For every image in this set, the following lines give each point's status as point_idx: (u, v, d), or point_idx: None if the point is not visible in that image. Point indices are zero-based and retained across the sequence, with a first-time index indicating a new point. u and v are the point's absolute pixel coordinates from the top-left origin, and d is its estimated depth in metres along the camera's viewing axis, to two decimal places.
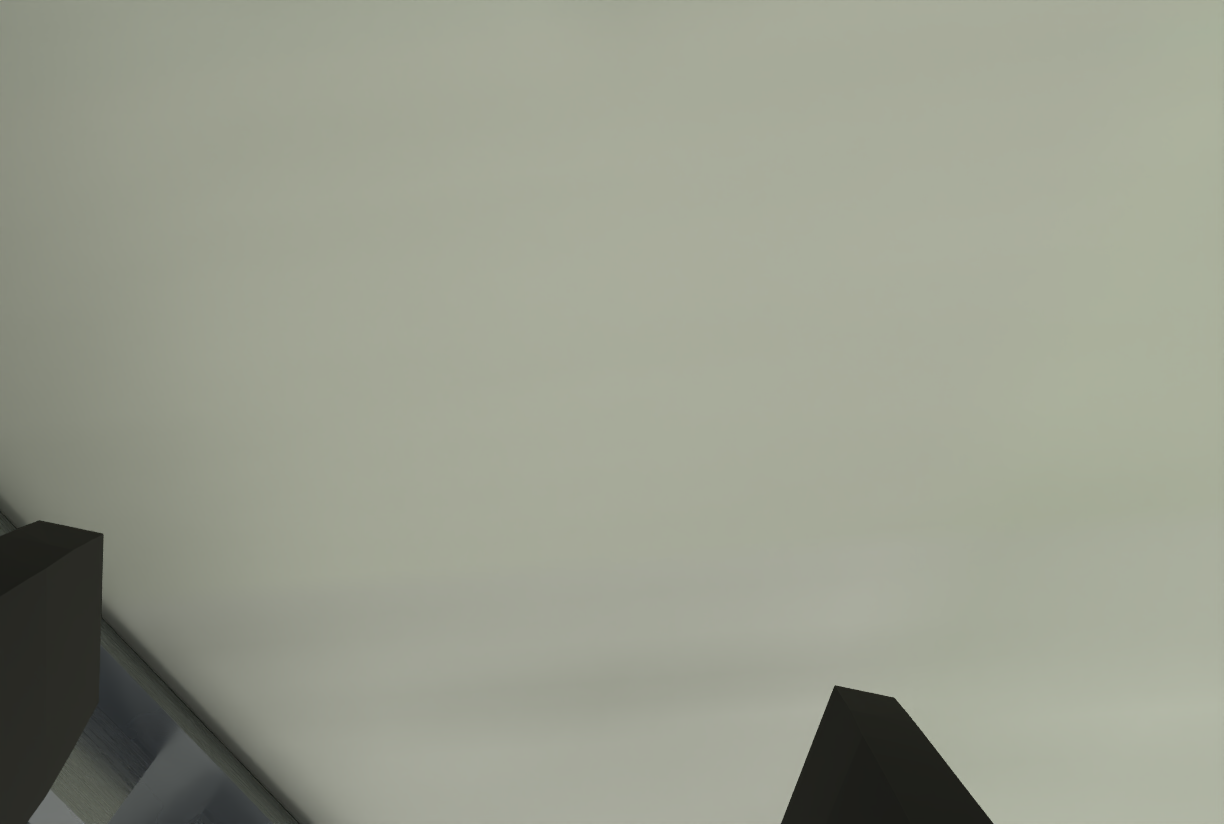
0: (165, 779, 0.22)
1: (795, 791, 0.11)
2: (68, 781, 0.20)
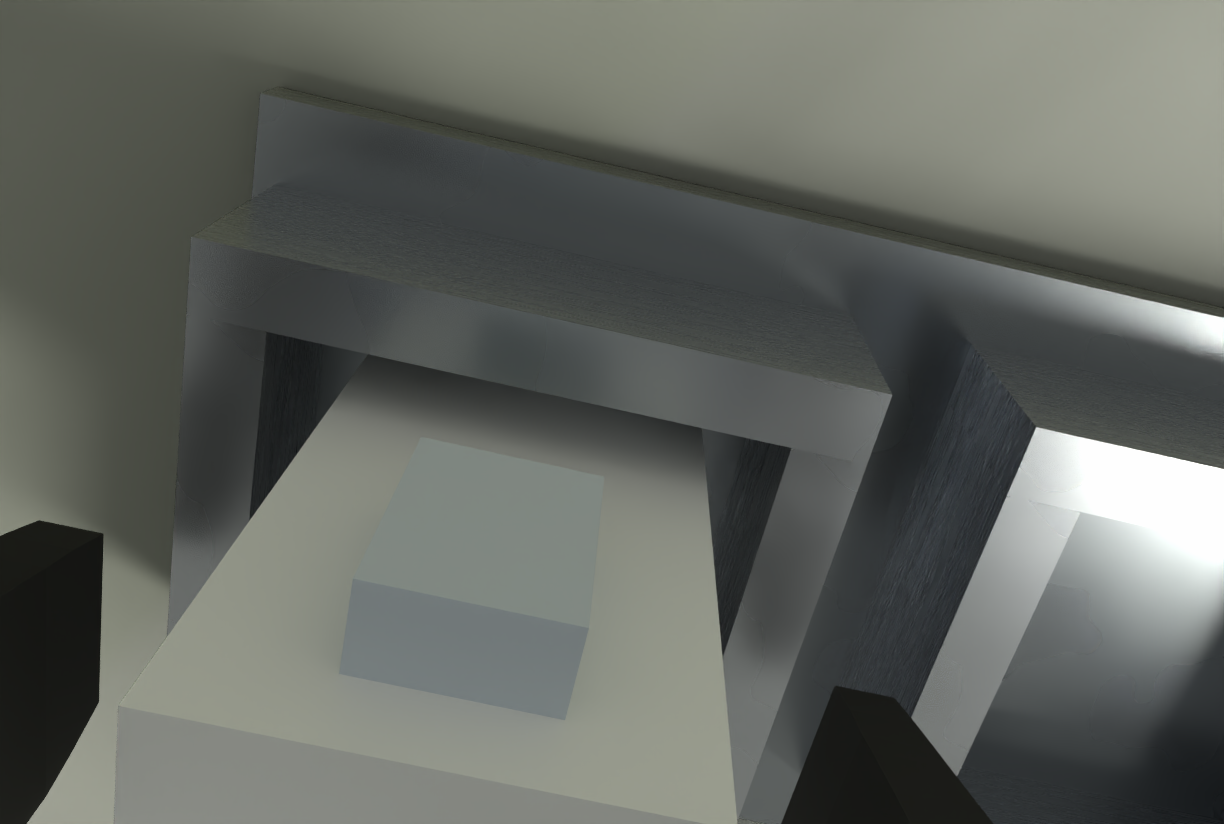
0: (885, 332, 0.13)
1: (794, 792, 0.11)
2: (782, 354, 0.11)
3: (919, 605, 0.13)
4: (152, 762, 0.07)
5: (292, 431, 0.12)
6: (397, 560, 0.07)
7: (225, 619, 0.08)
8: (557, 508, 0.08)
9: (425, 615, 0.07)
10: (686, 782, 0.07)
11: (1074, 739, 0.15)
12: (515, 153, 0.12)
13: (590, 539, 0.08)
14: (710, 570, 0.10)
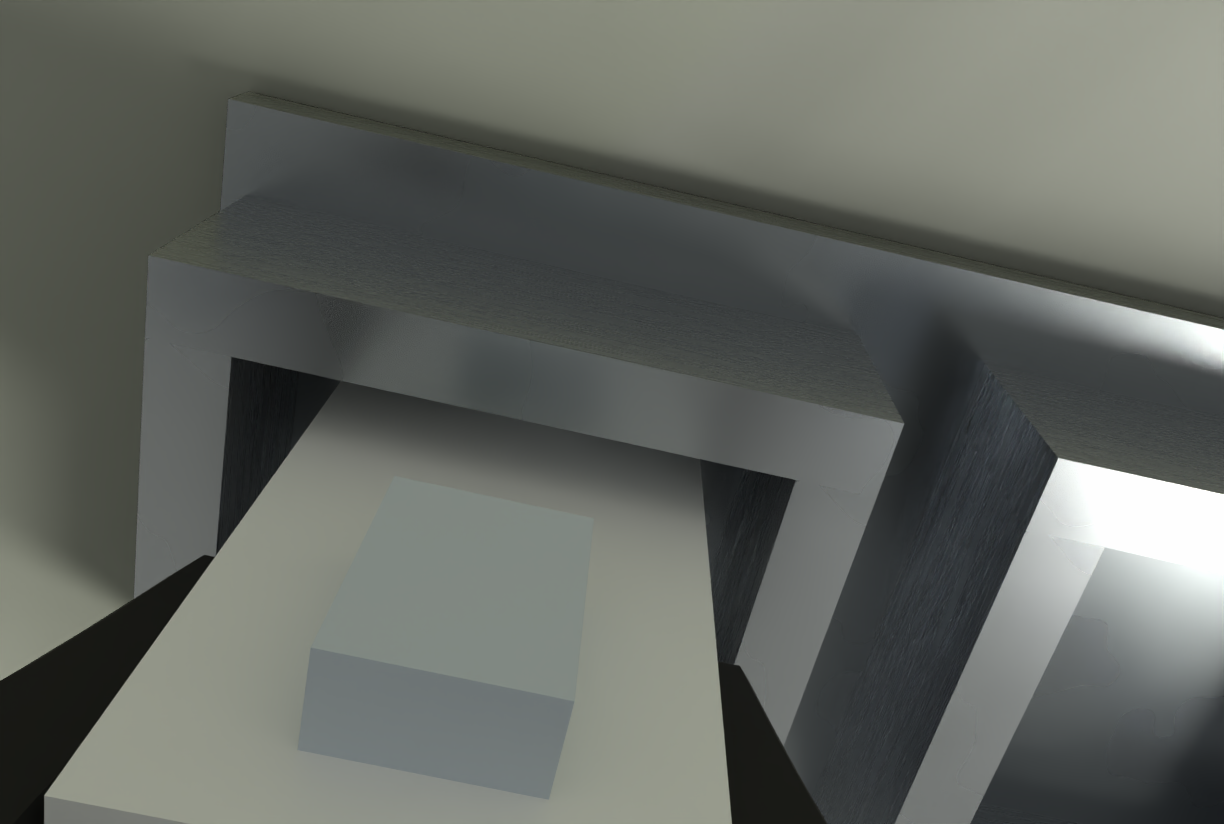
0: (895, 352, 0.12)
1: None
2: (786, 379, 0.10)
3: (930, 641, 0.12)
4: None
5: (264, 458, 0.12)
6: (362, 623, 0.07)
7: (172, 686, 0.07)
8: (541, 556, 0.08)
9: (392, 687, 0.06)
10: None
11: (1090, 775, 0.14)
12: (500, 162, 0.11)
13: (577, 592, 0.07)
14: (709, 616, 0.09)
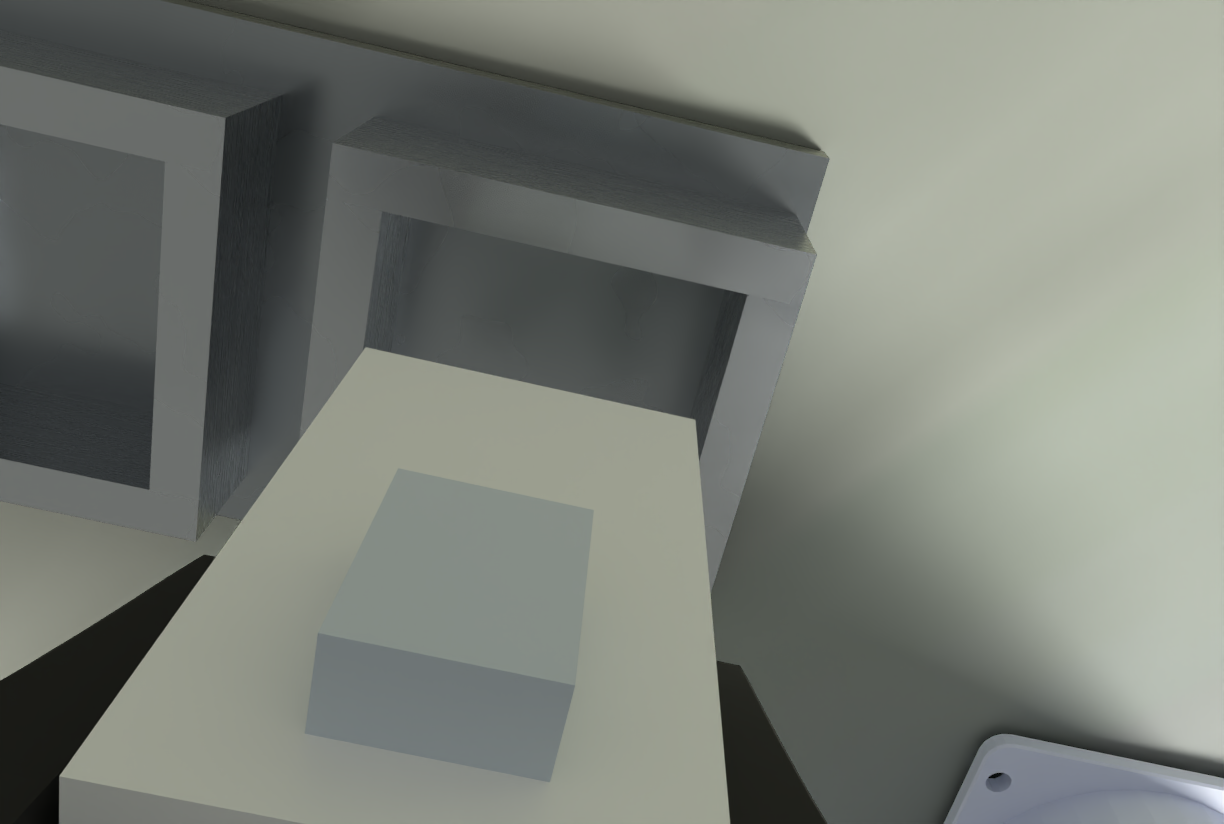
0: (309, 108, 0.17)
1: None
2: (161, 95, 0.15)
3: None
4: None
5: None
6: (368, 611, 0.07)
7: (182, 672, 0.07)
8: (543, 547, 0.08)
9: (397, 671, 0.07)
10: None
11: None
12: None
13: (578, 581, 0.08)
14: (707, 607, 0.09)
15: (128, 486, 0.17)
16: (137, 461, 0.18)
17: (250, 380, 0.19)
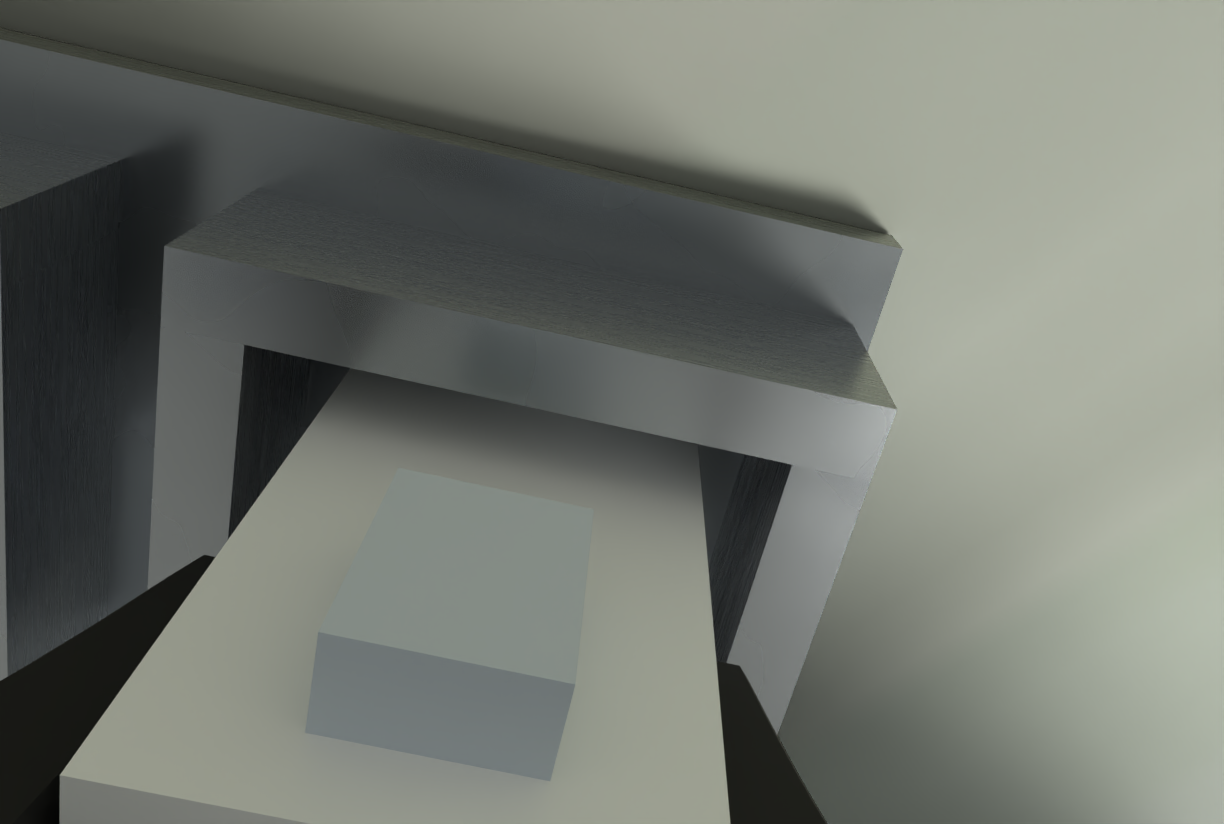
0: (162, 177, 0.12)
1: None
2: None
3: None
4: None
5: None
6: (368, 609, 0.07)
7: (183, 672, 0.07)
8: (543, 546, 0.08)
9: (397, 671, 0.07)
10: None
11: None
12: None
13: (578, 581, 0.08)
14: (707, 606, 0.09)
15: None
16: None
17: (99, 542, 0.13)
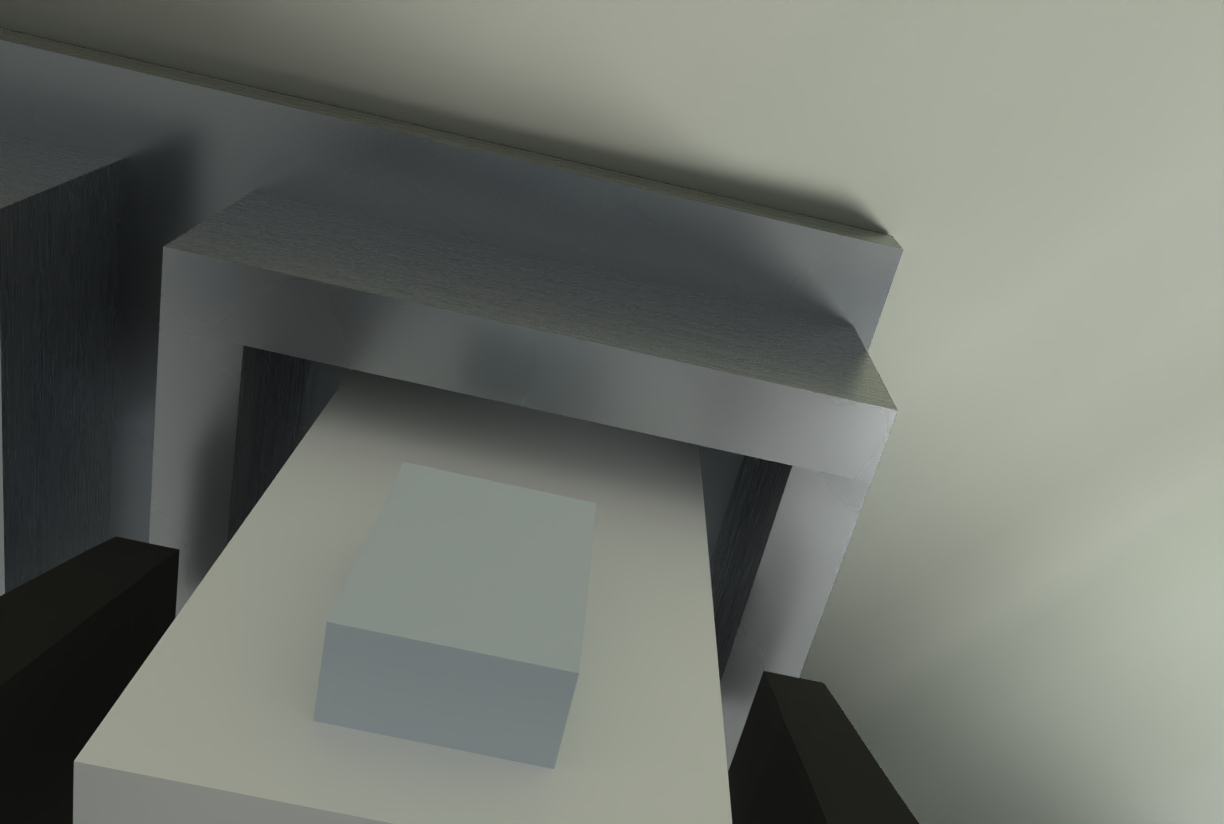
0: (161, 177, 0.12)
1: None
2: None
3: None
4: (111, 820, 0.06)
5: None
6: (374, 598, 0.07)
7: (193, 661, 0.07)
8: (546, 539, 0.08)
9: (404, 660, 0.07)
10: None
11: None
12: None
13: (581, 573, 0.08)
14: (708, 599, 0.09)
15: None
16: None
17: (98, 542, 0.13)
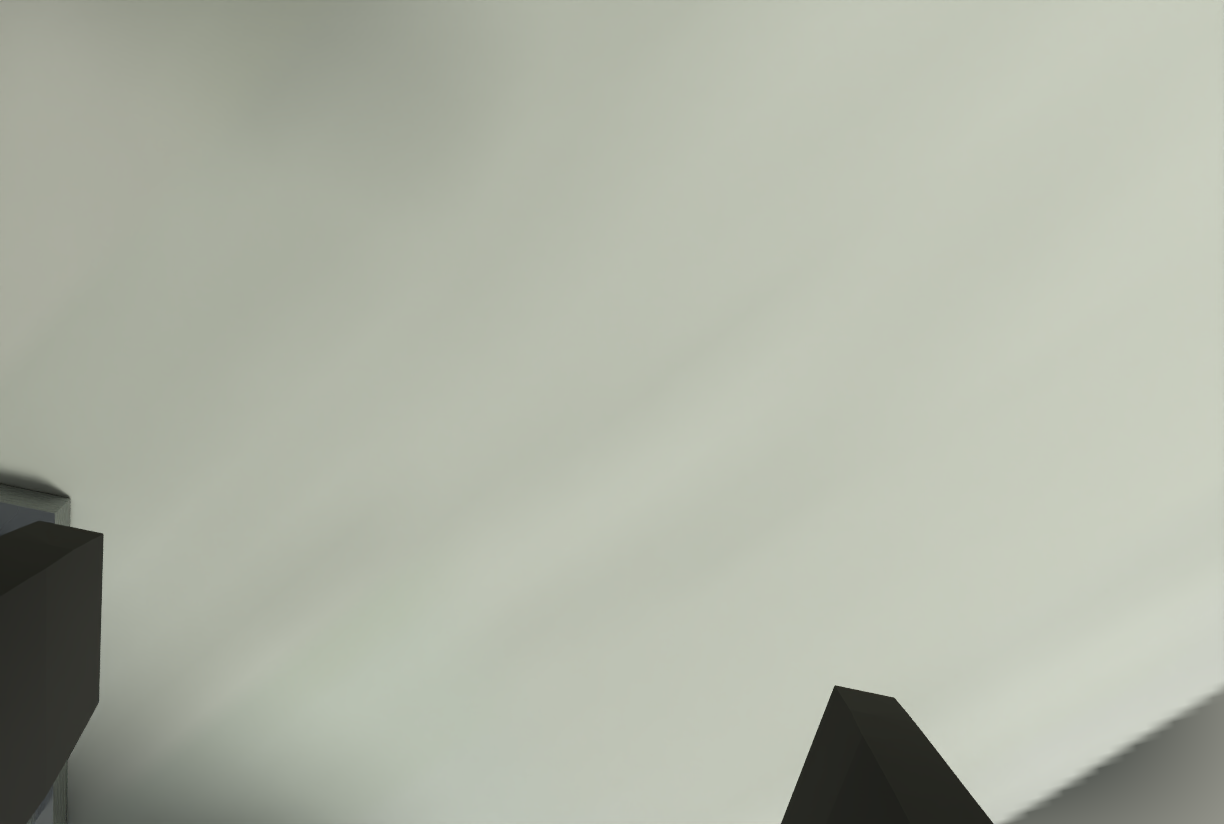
0: None
1: (794, 791, 0.11)
2: None
3: None
4: None
5: None
6: None
7: None
8: None
9: None
10: None
11: None
12: None
13: None
14: None
15: None
16: None
17: None
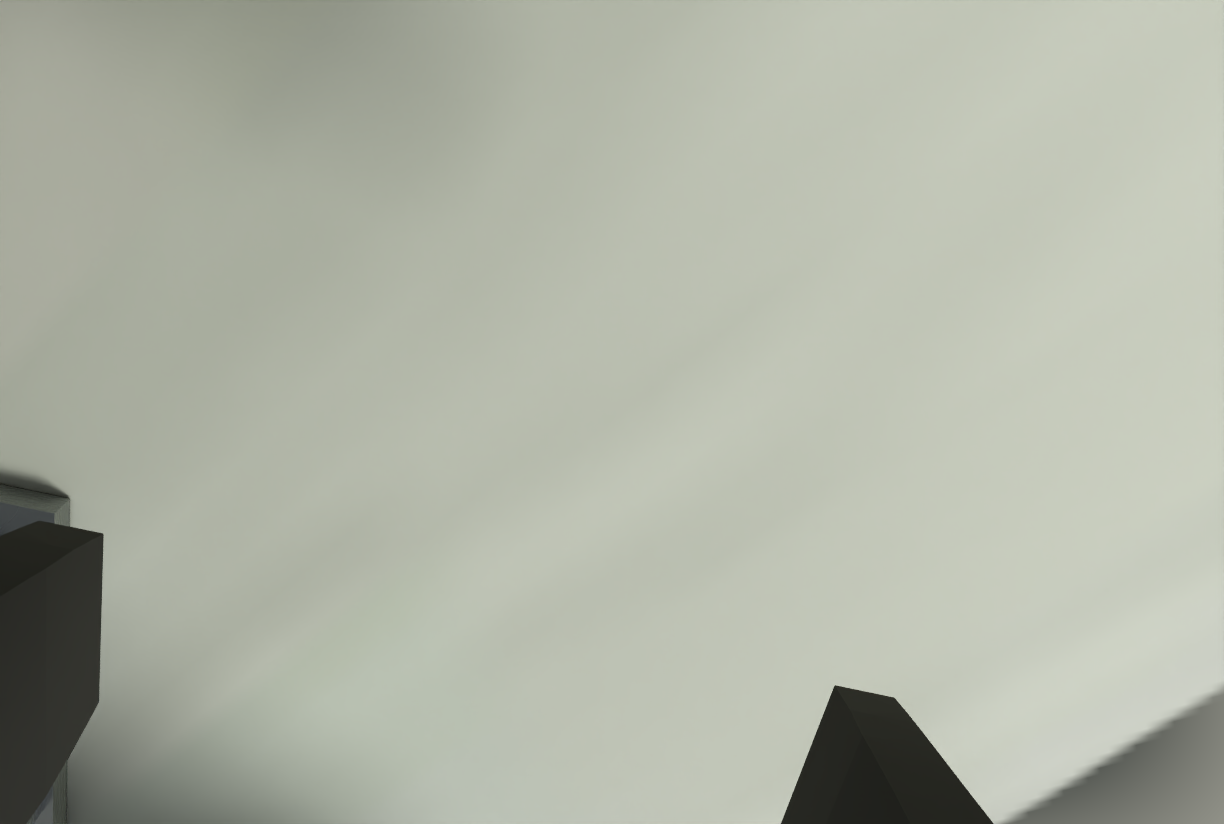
0: None
1: (794, 792, 0.11)
2: None
3: None
4: None
5: None
6: None
7: None
8: None
9: None
10: None
11: None
12: None
13: None
14: None
15: None
16: None
17: None
